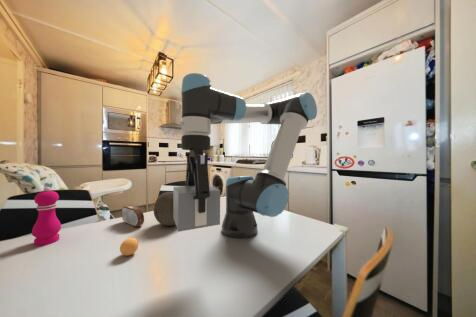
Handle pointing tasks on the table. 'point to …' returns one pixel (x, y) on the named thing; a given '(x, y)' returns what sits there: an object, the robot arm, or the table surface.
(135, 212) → the tin
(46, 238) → the pepper mill
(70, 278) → the table surface
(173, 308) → the table surface
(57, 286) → the table surface
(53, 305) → the table surface
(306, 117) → the robot arm
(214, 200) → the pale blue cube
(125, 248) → the ball
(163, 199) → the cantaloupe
